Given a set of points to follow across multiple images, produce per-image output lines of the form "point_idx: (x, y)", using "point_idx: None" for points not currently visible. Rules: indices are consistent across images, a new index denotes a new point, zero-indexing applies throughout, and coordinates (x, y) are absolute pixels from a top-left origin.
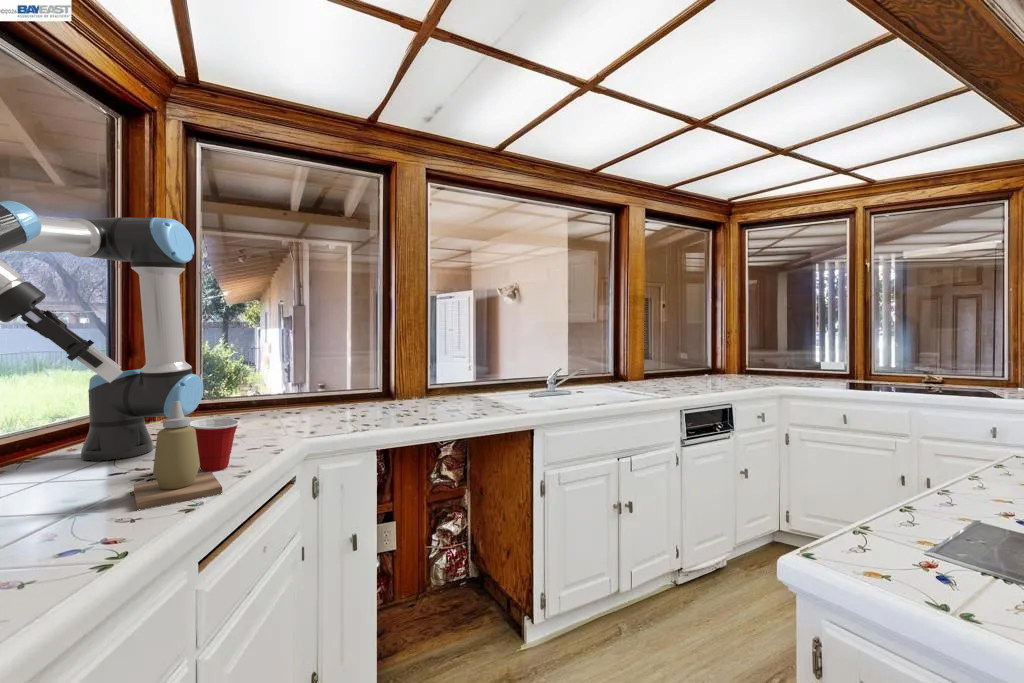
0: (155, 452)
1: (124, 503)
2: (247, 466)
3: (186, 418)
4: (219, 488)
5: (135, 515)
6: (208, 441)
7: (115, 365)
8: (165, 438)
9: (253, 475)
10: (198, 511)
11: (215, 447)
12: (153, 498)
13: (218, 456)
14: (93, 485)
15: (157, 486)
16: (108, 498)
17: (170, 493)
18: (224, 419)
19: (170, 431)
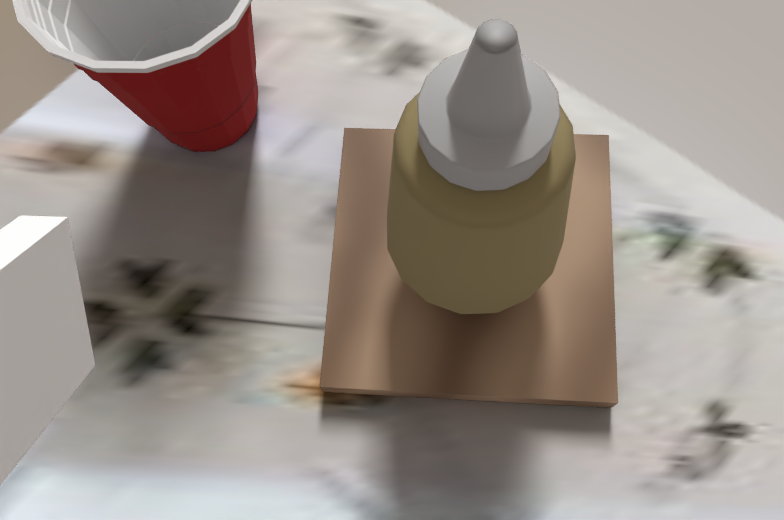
0: (473, 276)
1: (476, 435)
2: (278, 13)
3: (530, 64)
4: (606, 145)
5: (667, 417)
6: (236, 56)
7: (38, 266)
8: (551, 211)
9: (430, 23)
10: (763, 243)
11: (250, 51)
12: (596, 347)
13: (255, 67)
14: (90, 517)
15: (426, 316)
16: (355, 479)
17: (569, 290)
18: None
19: (553, 173)
